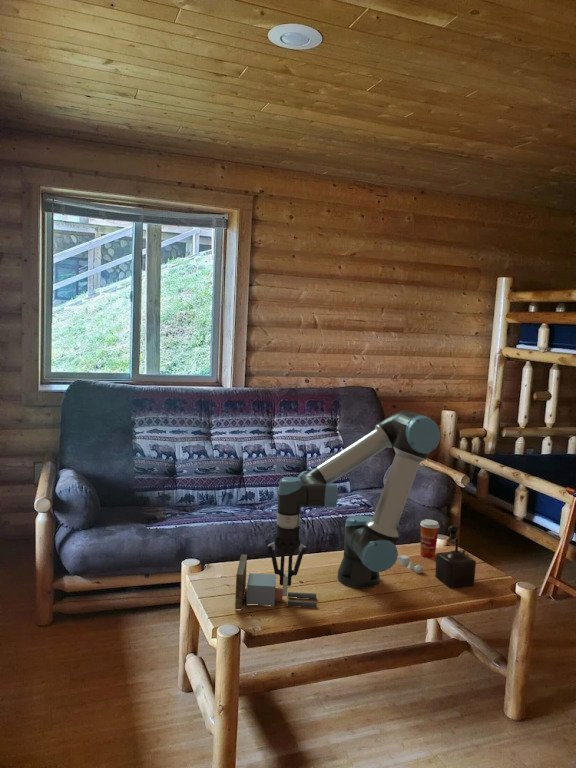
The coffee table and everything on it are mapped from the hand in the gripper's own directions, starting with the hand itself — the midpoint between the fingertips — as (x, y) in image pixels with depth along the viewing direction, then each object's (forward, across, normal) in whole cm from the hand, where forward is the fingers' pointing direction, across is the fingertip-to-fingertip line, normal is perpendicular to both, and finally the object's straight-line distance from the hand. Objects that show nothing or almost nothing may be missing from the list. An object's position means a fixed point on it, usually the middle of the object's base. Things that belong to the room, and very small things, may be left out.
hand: (284, 594), depth 194 cm
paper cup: (+3, +58, +46) cm, 74 cm away
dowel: (+2, -6, 0) cm, 6 cm away
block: (+2, -8, 0) cm, 8 cm away
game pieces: (+3, +48, +32) cm, 58 cm away
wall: (+2, -14, 0) cm, 15 cm away
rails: (+2, +6, 0) cm, 6 cm away
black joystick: (+3, +62, +25) cm, 66 cm away
